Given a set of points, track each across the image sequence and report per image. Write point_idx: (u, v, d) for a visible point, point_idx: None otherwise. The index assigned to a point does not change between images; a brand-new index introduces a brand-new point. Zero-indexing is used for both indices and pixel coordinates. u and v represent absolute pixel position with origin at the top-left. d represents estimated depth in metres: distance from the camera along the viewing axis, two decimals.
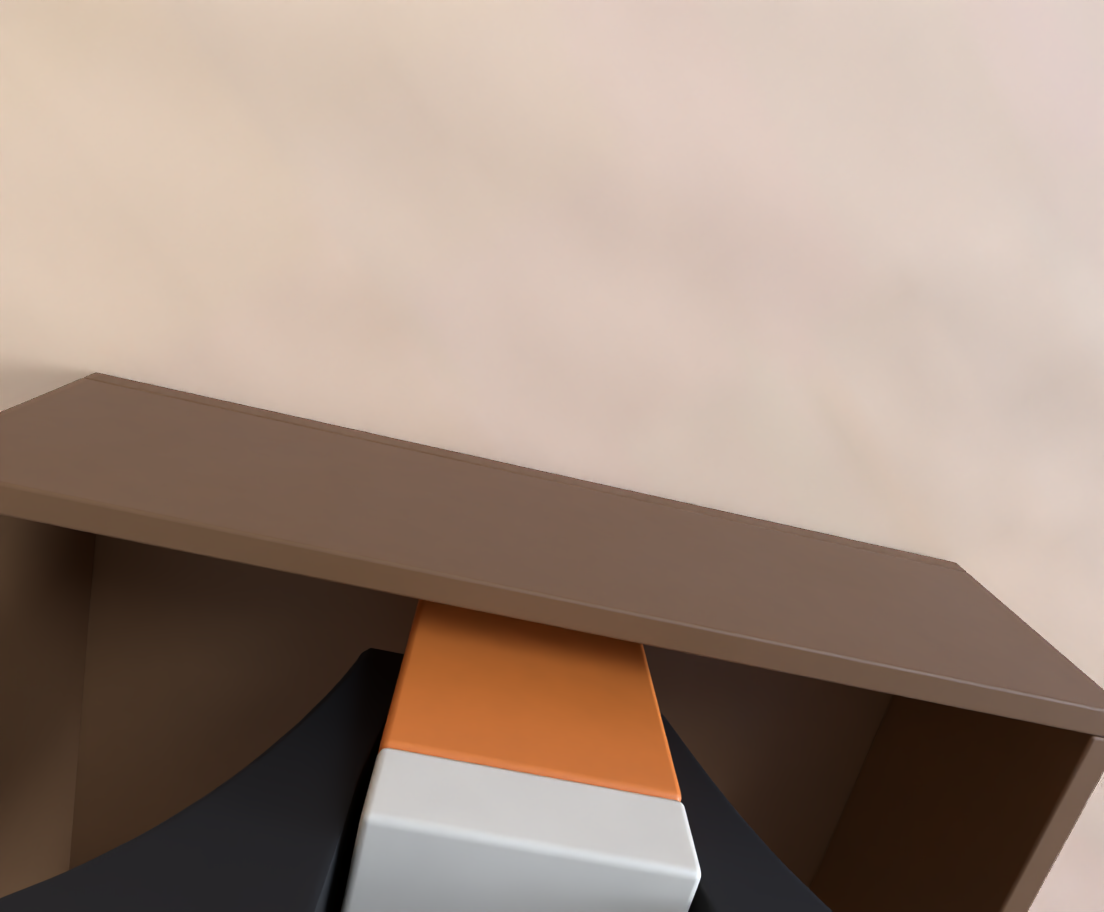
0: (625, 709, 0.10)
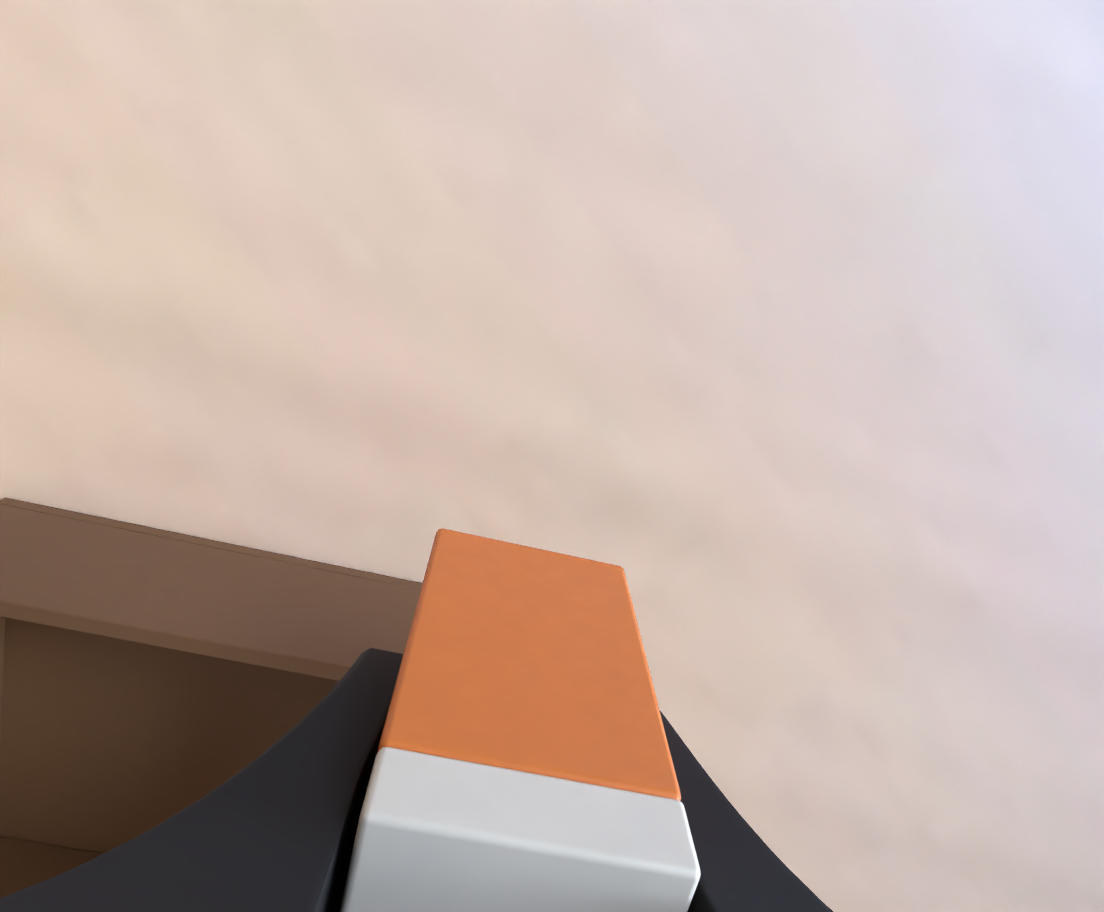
0: (625, 709, 0.10)
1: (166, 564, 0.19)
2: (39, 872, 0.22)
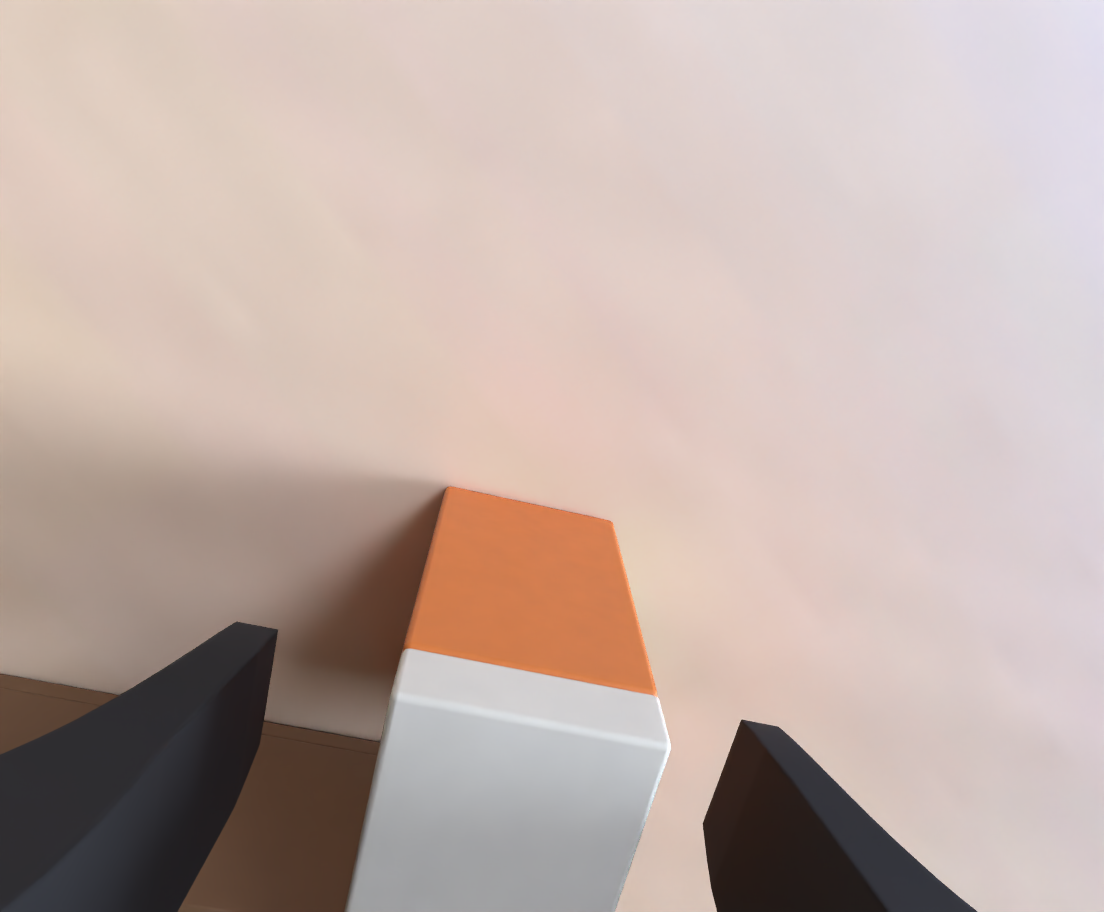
0: (611, 629, 0.11)
1: None
2: None
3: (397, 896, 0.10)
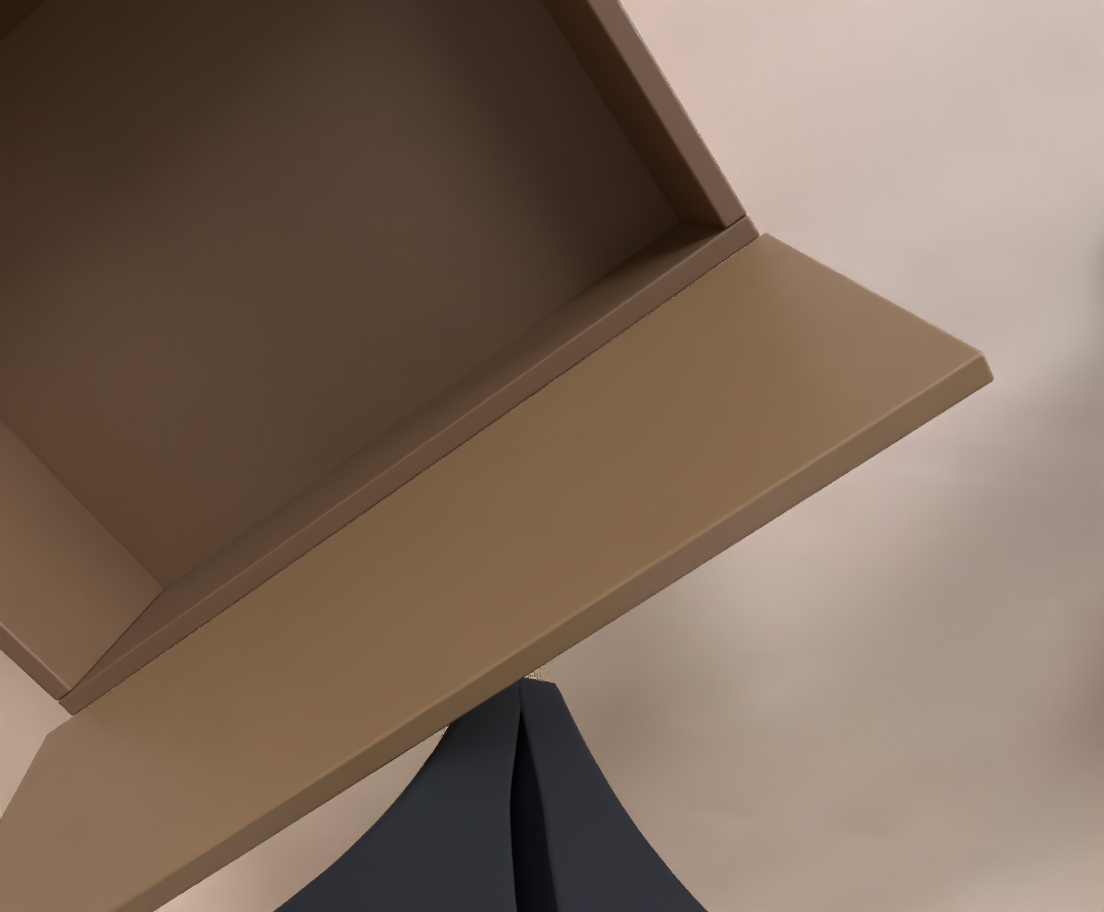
0: None
1: None
2: (206, 567, 0.17)
3: None
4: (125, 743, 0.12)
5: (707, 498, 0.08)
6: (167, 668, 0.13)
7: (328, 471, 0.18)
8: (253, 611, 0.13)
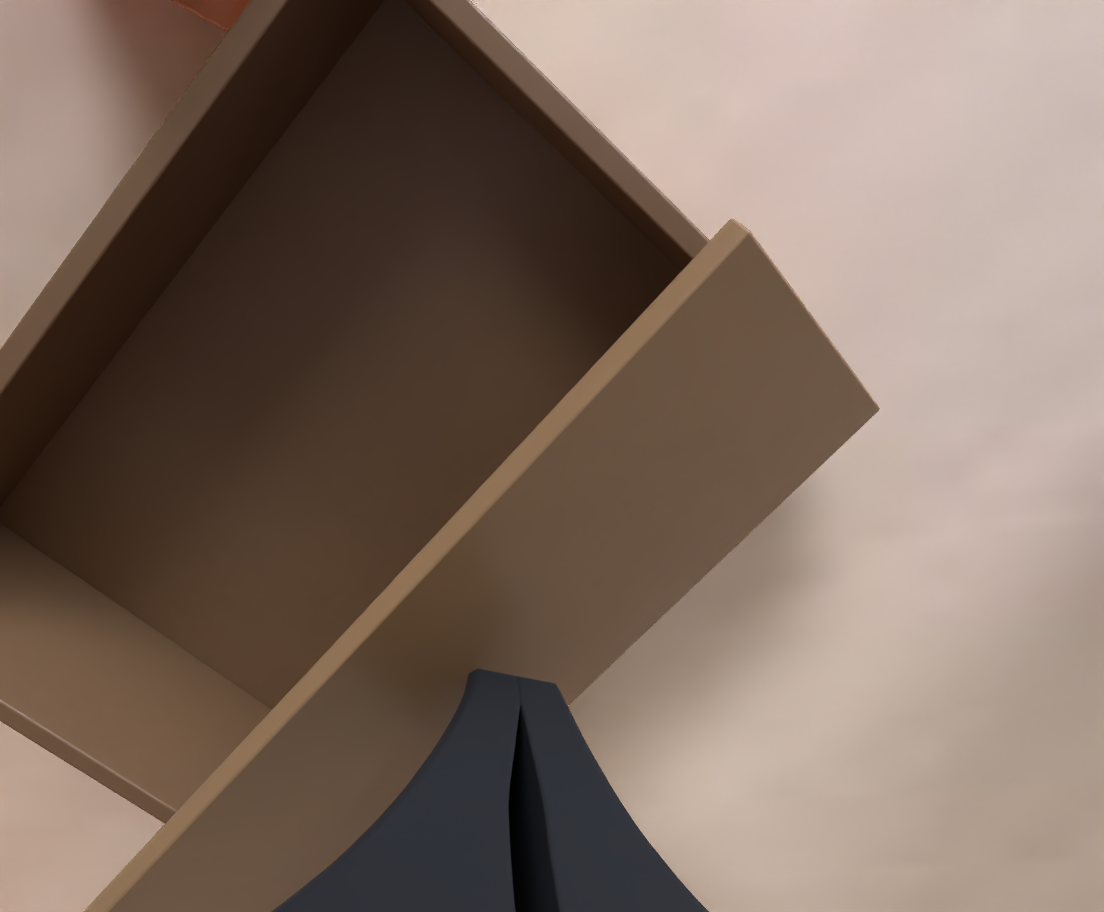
0: None
1: None
2: None
3: None
4: None
5: None
6: None
7: None
8: None
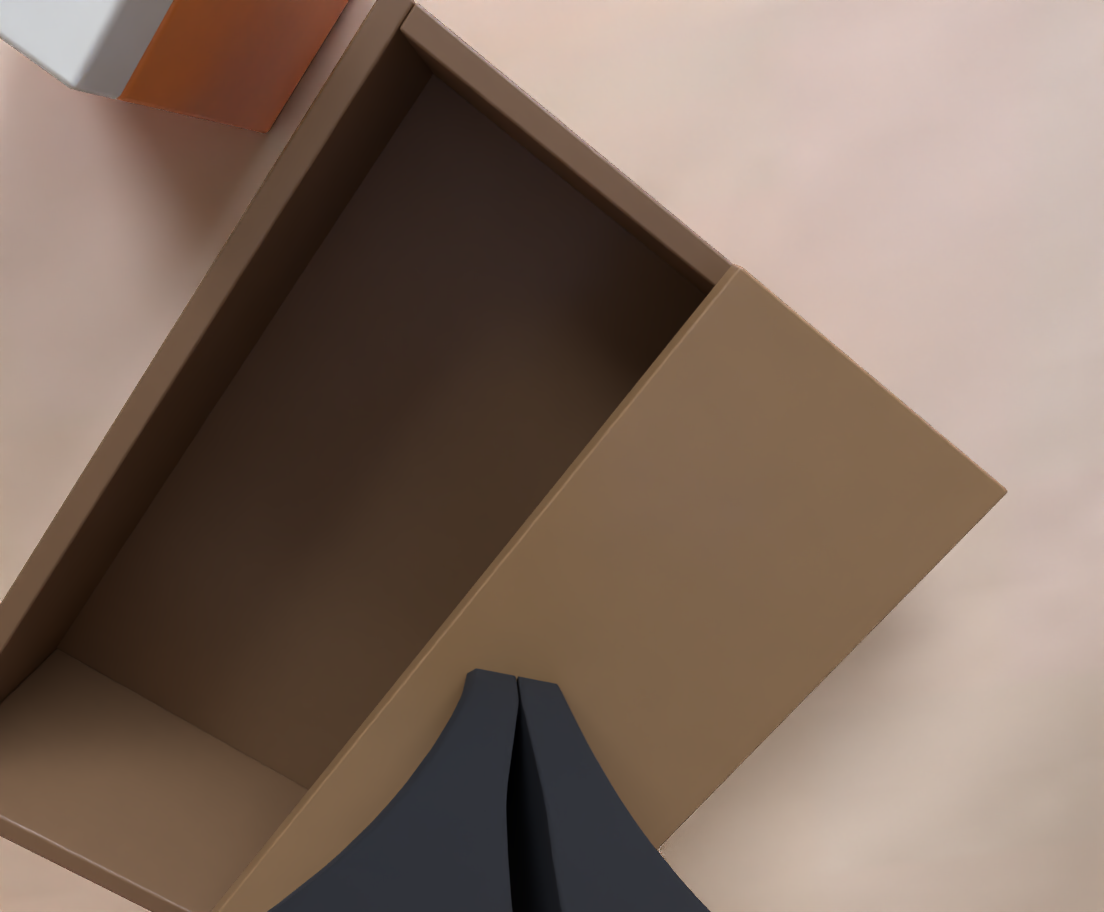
0: None
1: None
2: None
3: None
4: None
5: None
6: None
7: None
8: None
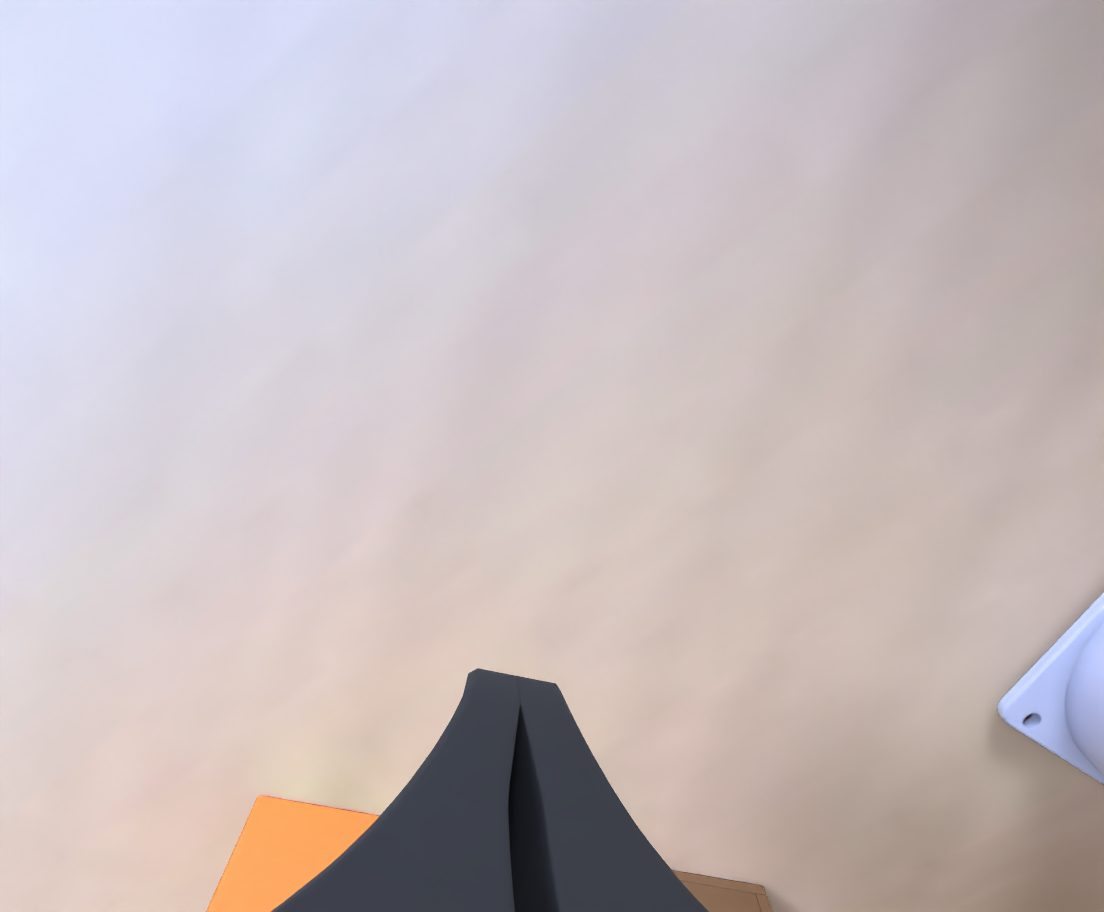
0: None
1: None
2: None
3: None
4: None
5: None
6: None
7: None
8: None
